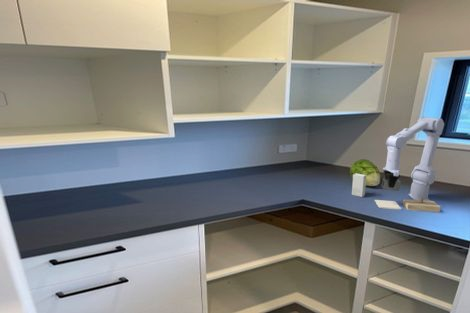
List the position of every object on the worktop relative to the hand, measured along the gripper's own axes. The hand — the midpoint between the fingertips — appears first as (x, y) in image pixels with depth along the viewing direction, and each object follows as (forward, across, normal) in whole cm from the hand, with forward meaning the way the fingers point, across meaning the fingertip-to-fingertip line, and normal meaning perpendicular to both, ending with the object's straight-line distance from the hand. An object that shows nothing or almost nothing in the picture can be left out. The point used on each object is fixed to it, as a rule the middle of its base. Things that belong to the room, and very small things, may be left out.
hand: (389, 186), depth 145 cm
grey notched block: (+2, 0, 0) cm, 2 cm away
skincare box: (+10, -12, -12) cm, 20 cm away
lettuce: (+11, -34, -4) cm, 36 cm away
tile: (+10, 0, 0) cm, 10 cm away
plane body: (+10, +1, +15) cm, 18 cm away
